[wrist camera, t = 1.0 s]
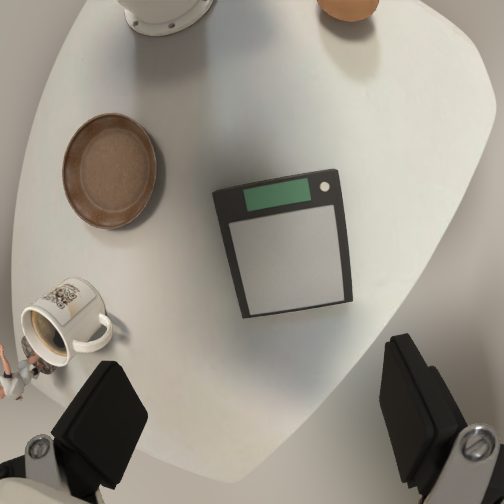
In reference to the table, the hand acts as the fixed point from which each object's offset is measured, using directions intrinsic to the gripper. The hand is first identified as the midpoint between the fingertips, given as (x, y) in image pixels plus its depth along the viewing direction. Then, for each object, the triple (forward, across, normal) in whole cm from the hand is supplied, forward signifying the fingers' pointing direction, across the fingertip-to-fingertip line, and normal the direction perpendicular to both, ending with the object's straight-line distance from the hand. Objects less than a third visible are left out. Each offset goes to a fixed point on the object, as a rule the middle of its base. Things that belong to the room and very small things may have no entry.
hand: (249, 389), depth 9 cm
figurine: (+27, +48, +17) cm, 58 cm away
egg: (+28, -14, -26) cm, 40 cm away
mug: (+27, +32, +10) cm, 43 cm away
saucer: (+28, +19, -10) cm, 35 cm away
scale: (+27, -1, +4) cm, 27 cm away
